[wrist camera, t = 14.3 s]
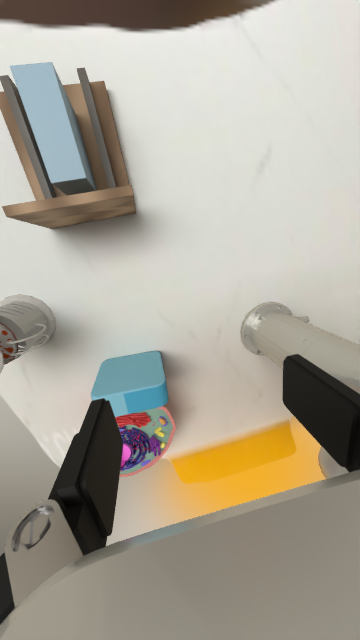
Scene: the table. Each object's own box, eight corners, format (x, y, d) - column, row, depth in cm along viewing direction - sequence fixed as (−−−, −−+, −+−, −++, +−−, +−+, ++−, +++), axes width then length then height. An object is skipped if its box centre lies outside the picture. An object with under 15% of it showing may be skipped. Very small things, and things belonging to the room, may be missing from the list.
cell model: (184, 409, 49) (196, 451, 39) (118, 453, 50) (113, 507, 39) (143, 362, 43) (144, 398, 33) (69, 413, 44) (46, 464, 33)
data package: (107, 378, 43) (95, 422, 32) (102, 359, 41) (88, 399, 30) (162, 367, 45) (169, 405, 33) (159, 349, 43) (166, 383, 32)
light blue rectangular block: (75, 113, 28) (51, 62, 20) (99, 195, 31) (86, 177, 24) (45, 117, 27) (9, 65, 20) (72, 200, 31) (51, 183, 23)
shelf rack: (105, 89, 28) (85, -10, 18) (135, 213, 34) (133, 194, 23) (1, 100, 27) (-90, 0, 16) (50, 228, 32) (6, 216, 22)
